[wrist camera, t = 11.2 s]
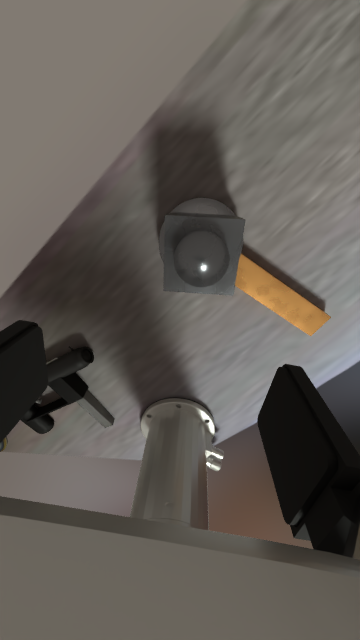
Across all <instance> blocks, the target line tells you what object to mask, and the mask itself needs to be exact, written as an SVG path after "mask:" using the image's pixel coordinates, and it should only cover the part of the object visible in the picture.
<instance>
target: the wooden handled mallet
mask: <svg viewBox="0 0 360 640" xmlns="http://www.w3.org/2000/svg"><path fill="white" fill-rule="evenodd" d="M171 212H184V213H202V214H220V215H235V214H234V213H233V212H232V210H231V209H229V208H228V207H227V206H226V205H224V204H223V203H221V202H219V201H217V200H214V199H210V198H195V199H191V200H188V201H185V202H183V203H181V204H180V205H178V206H177V207H175V208H174V209H173V210H172V211H171ZM171 212H170V213H171ZM235 216H236V215H235ZM164 237H165V221H164V223H163V225H162V228H161V231H160V235H159V250H160V254H161V258H162V260H163V262H164ZM242 248H243V238H242V244H241V251H240V257H239V263H238V269H237V276H236V282H235V286H237V287H238V288H240V289H241V290H243V291H244V292H246V293H247V294H249V295H250V296H252V297H253V298H254V299H256V300H257V301H259V302H260V303H262V304H263V305H265V306H266V307H268V308H269V309H271V310H272V311H274V312H275V313H277V314H278V315H280V316H281V317H283V318H284V319H286V320H287V321H289V322H290V323H292V324H293V325H295V326H296V327H298V328H299V329H301V330H302V331H304V332H305V333H307V334H308V335H310V336H311V335H313V334H314V333H315V332H316V331H317V330H318V329H319V328H320V327H321V326H322V325H323V324H324V323H325V322H327V321H328V320H329V319H330V318H331V317H330V316H329V315H328V314H327V313H325V312H324V311H323V310H321V309H320V308H318V307H317V306H316V305H314V304H313V303H311V302H310V301H309V300H307V299H306V298H304V297H303V296H302V295H300V294H299V293H297V292H296V291H294V290H293V289H292V288H290V287H289V286H287V285H286V284H285V283H283V282H282V281H280V280H279V279H277V278H276V277H275V276H273V275H272V274H270V273H269V272H268V271H266V270H265V269H263V268H262V267H261V266H259V265H258V264H256V263H255V262H253V261H252V260H251V259H249V258H248V257H246V256H245V255H244V254H242V253H241V252H242Z"/></svg>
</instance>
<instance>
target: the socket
mask: <svg viewBox="0 0 360 640" xmlns="http://www.w3.org/2000/svg"><path fill="white" fill-rule="evenodd" d="M244 226H245V219H243V218H240V217H237V216H235V215H220V214H202V213H184V212H171V213H169V214H166V215H165V237H164V291H174V292H188V293H203V294H217V295H231V296H233V294H234V288H235V282H236V276H237V269H238V263H239V257H240V251H241V244H242V238H243V232H244Z"/></svg>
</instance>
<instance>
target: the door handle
mask: <svg viewBox="0 0 360 640" xmlns="http://www.w3.org/2000/svg"><path fill="white" fill-rule="evenodd" d="M69 348H70V347H69ZM70 349H71V348H70ZM71 350H72V349H71ZM93 360H94V355H93V352H92V351H91V350H90V349H89V348H88V347H83V348H78V349H75V350H72V351H71V352H69V353H67V354H65V355H63V356H62V357H60V358H54V359H53V360H51V361H49V362H47V363H46V366H47V375H48V385H47V386H50V387H51V388H52V389H53V390H54V391H55V392H56V393H58V394H59V395H60V396H61V397H62V398H61V399H58V400H56V401H54V402H52V403H50V404H47V405H45V406H43V407H41V408H37V407H36V406H35V405H32V406H31V408H30V409H29V410H28V411H27V412H26V413H25V415H24V416H23V417H22V418H21V419H20V420H21V421H22V422H24V423H25V424H26V425H28V426H29V427H30V428H32V429H33V430H34V431H36V432H37V433H39V434H44V433H47V432H49V431H50V430H51V429H52V428H53V426H54V421H53V420H52V419H51V418H49V417H48V416H47V415H46V414H48V413H50V412H53V411H55V410H57V409H60V408H62V407H64V406H66V405H69V404H71V403H74V402H77V403H78V404H79V405H80V406H81V407H83V408H84V409H85V410H86V411H87V412H88V413H89V414H90V415H91V416H93V417H94V418H95V419H96V420H97V421H98V422H99V423H100V424H101V425H103V426H104V427H105V428H106V427H109V426H112V425H113V422H114V418H113V417H112V416H111V415H110V414H109V412H108V411H107V410H106V409H105V408H104V407H103V406H102V405H101V404H100V403H99V402H98V401H97V400H96V399H95V397H94V396H93V395H92V394H91V393H90V392H89V391H88V390H87V389H88V386H87V385H86V384H85V383H84V382H83V380H82V379H81V378H80V377H79V376H78V375H77V374H76V373H75V372H77V371H79V370H81V369H83V368H85V367H86V366H88V365H89V364H90V363H92V362H93ZM41 402H42V400H41V399H37V400H36V403H39V404H41Z"/></svg>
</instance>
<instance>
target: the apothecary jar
mask: <svg viewBox="0 0 360 640" xmlns="http://www.w3.org/2000/svg"><path fill="white" fill-rule="evenodd" d="M6 446H7V438H6V437H5V438H4V440H3V441H2V442H1V443H0V452H1V451H3V450H4V449H5V448H6Z"/></svg>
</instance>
